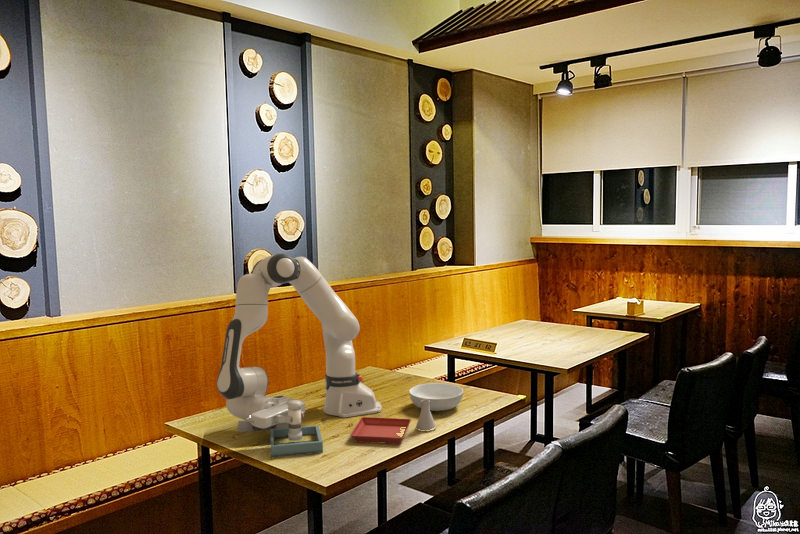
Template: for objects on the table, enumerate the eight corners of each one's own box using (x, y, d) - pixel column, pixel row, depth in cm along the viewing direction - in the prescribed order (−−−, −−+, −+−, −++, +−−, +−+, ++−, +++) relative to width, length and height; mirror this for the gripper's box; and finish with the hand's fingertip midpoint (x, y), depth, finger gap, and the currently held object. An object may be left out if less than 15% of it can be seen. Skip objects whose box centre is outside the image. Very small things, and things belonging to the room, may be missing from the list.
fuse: (301, 435, 204) (300, 399, 203) (302, 439, 199) (301, 403, 198) (288, 436, 203) (287, 400, 202) (288, 441, 198) (287, 404, 197)
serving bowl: (398, 406, 241) (398, 389, 240) (439, 396, 254) (438, 380, 253) (433, 420, 225) (433, 401, 224) (474, 408, 237) (474, 391, 237)
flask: (429, 433, 211) (429, 405, 210) (411, 430, 215) (411, 402, 214) (439, 427, 217) (439, 399, 216) (422, 424, 221) (421, 396, 220)
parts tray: (318, 435, 211) (318, 425, 210) (322, 452, 195) (322, 441, 195) (270, 439, 207) (270, 429, 207) (271, 457, 192) (270, 446, 191)
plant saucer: (404, 447, 200) (403, 437, 200) (349, 444, 203) (349, 434, 203) (411, 428, 218) (411, 418, 217) (361, 425, 221) (361, 416, 220)
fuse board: (289, 419, 227) (289, 410, 227) (290, 430, 216) (290, 420, 215) (239, 423, 223) (238, 414, 223) (237, 435, 212) (237, 425, 211)
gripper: (242, 409, 198) (273, 417, 191) (286, 393, 216) (316, 400, 208) (242, 429, 199) (274, 437, 191) (286, 411, 216) (317, 418, 209)
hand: (296, 417), depth 200 cm, fingers closed on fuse, 4 cm apart
